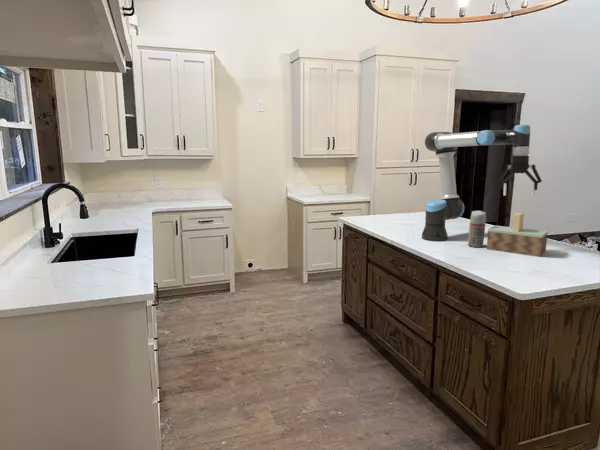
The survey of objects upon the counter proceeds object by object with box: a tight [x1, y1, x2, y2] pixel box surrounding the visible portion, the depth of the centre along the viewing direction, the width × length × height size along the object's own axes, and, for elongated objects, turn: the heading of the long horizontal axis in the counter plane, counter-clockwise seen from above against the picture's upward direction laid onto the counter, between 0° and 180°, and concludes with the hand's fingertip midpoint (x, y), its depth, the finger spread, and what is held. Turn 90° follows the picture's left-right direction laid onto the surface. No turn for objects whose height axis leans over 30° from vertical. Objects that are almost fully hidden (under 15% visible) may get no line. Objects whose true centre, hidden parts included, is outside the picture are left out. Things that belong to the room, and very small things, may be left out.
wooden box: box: [486, 230, 548, 258], centre depth 221 cm, size 26×12×10 cm, turn 49°
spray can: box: [467, 210, 487, 248], centre depth 231 cm, size 8×8×20 cm
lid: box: [487, 212, 549, 238], centre depth 219 cm, size 26×12×10 cm, turn 49°
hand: (518, 195), depth 218 cm, fingers open, 13 cm apart
